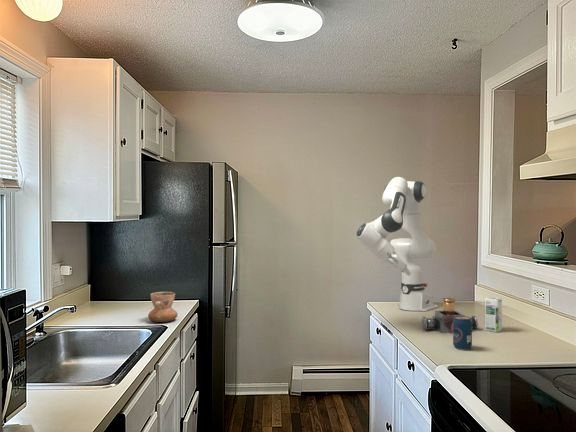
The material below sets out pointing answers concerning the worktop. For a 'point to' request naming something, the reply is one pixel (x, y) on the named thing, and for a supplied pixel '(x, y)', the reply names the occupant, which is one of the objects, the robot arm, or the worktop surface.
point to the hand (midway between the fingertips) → (406, 273)
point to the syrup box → (493, 314)
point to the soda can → (462, 332)
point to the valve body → (444, 322)
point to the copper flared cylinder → (449, 306)
